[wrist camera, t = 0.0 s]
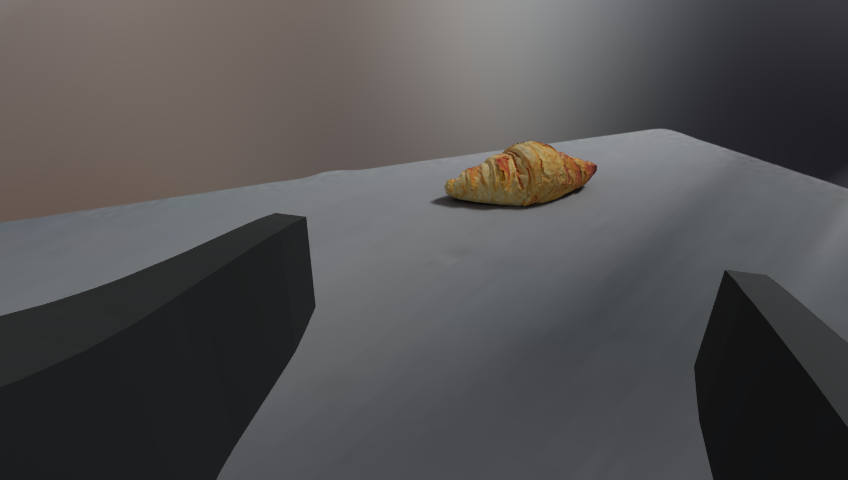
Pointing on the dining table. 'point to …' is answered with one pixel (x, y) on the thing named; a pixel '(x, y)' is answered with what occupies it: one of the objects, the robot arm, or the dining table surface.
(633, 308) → the dining table surface
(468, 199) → the croissant
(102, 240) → the dining table surface
